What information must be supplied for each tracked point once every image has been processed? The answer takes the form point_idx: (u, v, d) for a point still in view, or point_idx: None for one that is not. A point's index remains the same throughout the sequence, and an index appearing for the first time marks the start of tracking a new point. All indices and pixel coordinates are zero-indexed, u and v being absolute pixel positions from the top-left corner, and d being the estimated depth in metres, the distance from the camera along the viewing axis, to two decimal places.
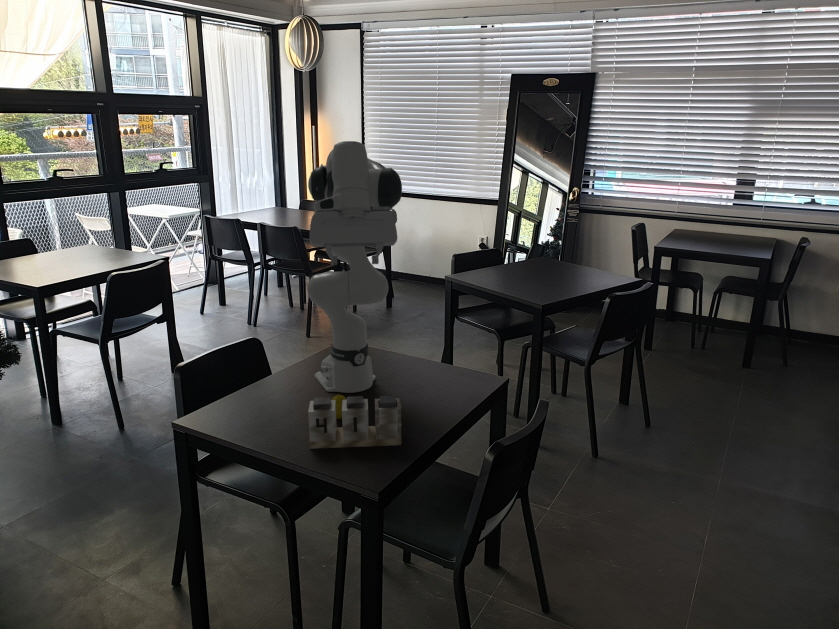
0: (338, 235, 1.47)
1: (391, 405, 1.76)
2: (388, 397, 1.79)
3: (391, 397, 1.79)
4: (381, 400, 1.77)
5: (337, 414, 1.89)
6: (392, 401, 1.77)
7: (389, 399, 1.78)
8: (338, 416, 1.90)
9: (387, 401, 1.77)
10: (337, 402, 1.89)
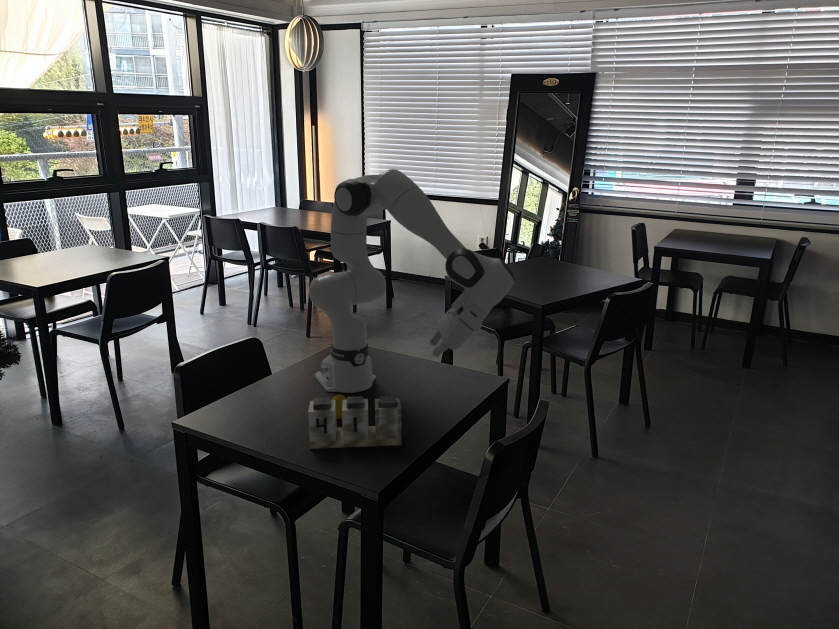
0: None
1: (391, 405, 1.76)
2: (388, 397, 1.79)
3: (391, 397, 1.79)
4: (381, 400, 1.77)
5: (337, 414, 1.89)
6: (392, 401, 1.77)
7: (389, 399, 1.78)
8: (338, 416, 1.90)
9: (387, 401, 1.77)
10: (337, 402, 1.89)
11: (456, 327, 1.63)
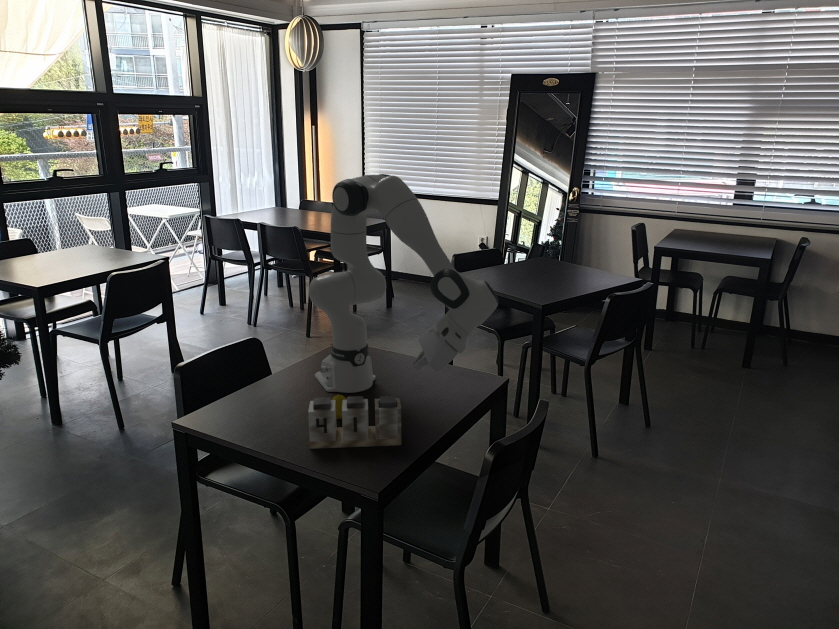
0: None
1: (391, 405, 1.76)
2: (388, 397, 1.79)
3: (391, 397, 1.79)
4: (381, 400, 1.77)
5: (337, 414, 1.89)
6: (392, 401, 1.77)
7: (389, 399, 1.78)
8: (338, 416, 1.90)
9: (387, 401, 1.77)
10: (337, 402, 1.89)
11: (441, 349, 1.66)
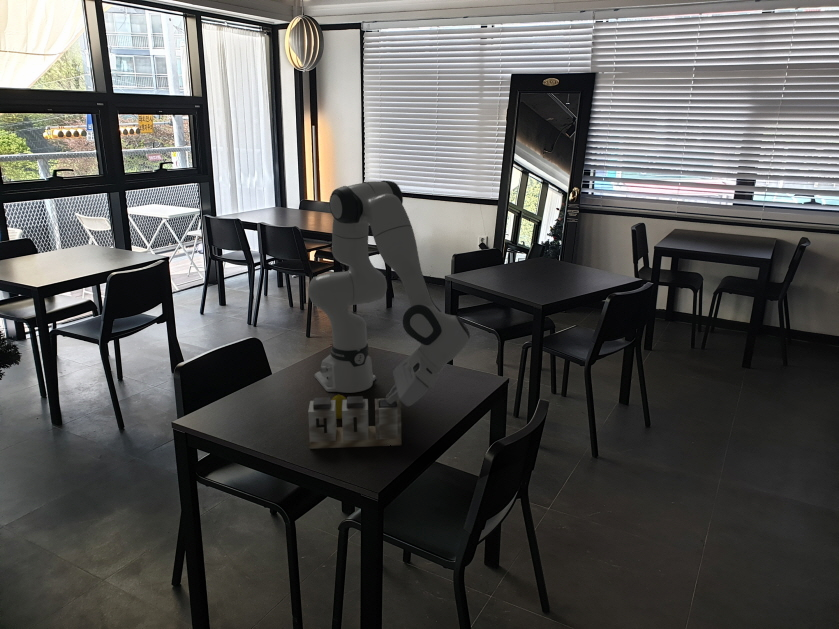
0: None
1: None
2: None
3: None
4: (381, 403, 1.78)
5: (337, 414, 1.89)
6: (392, 404, 1.77)
7: None
8: (338, 416, 1.90)
9: (387, 404, 1.77)
10: (337, 402, 1.89)
11: (412, 384, 1.67)
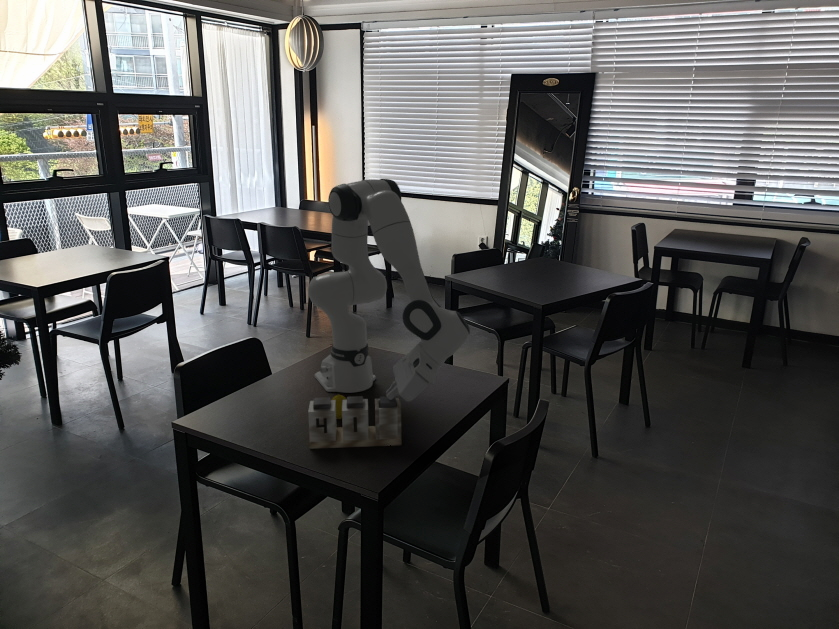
0: None
1: (391, 405, 1.76)
2: None
3: None
4: (381, 400, 1.77)
5: (337, 414, 1.89)
6: (392, 401, 1.77)
7: None
8: (338, 416, 1.90)
9: (387, 401, 1.77)
10: (337, 402, 1.89)
11: (412, 380, 1.67)
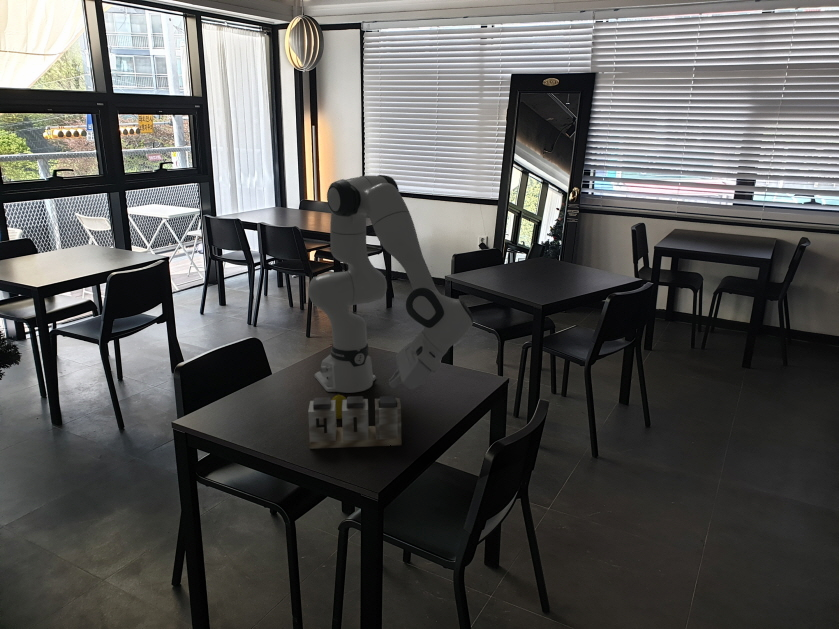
0: None
1: (391, 405, 1.76)
2: (388, 398, 1.79)
3: (391, 397, 1.79)
4: (381, 400, 1.77)
5: (337, 414, 1.89)
6: (392, 401, 1.77)
7: (389, 399, 1.78)
8: (338, 416, 1.90)
9: (387, 401, 1.77)
10: (337, 402, 1.89)
11: (415, 368, 1.66)
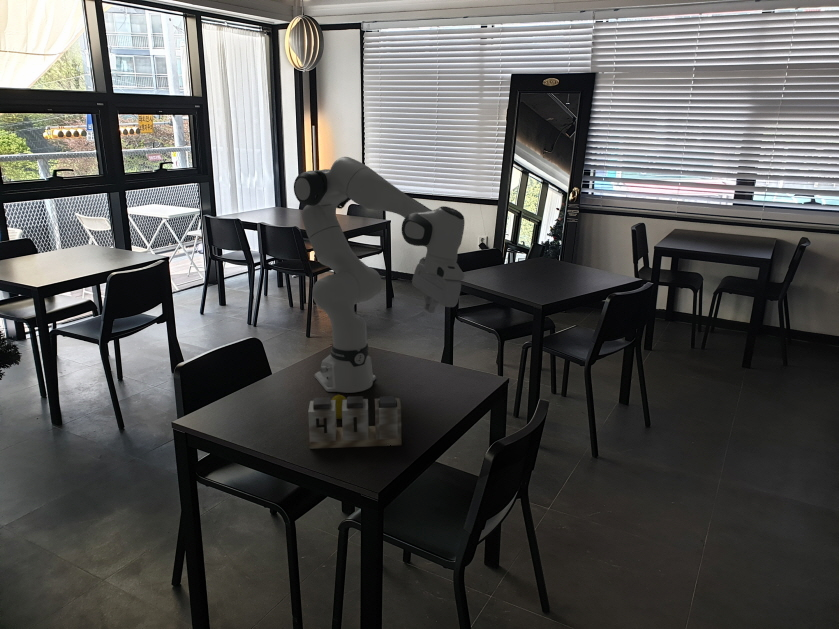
0: None
1: (391, 405, 1.76)
2: (388, 398, 1.79)
3: (391, 397, 1.79)
4: (381, 400, 1.77)
5: (337, 414, 1.89)
6: (392, 401, 1.77)
7: (389, 399, 1.78)
8: (338, 416, 1.90)
9: (387, 401, 1.77)
10: (337, 402, 1.89)
11: (448, 288, 1.75)
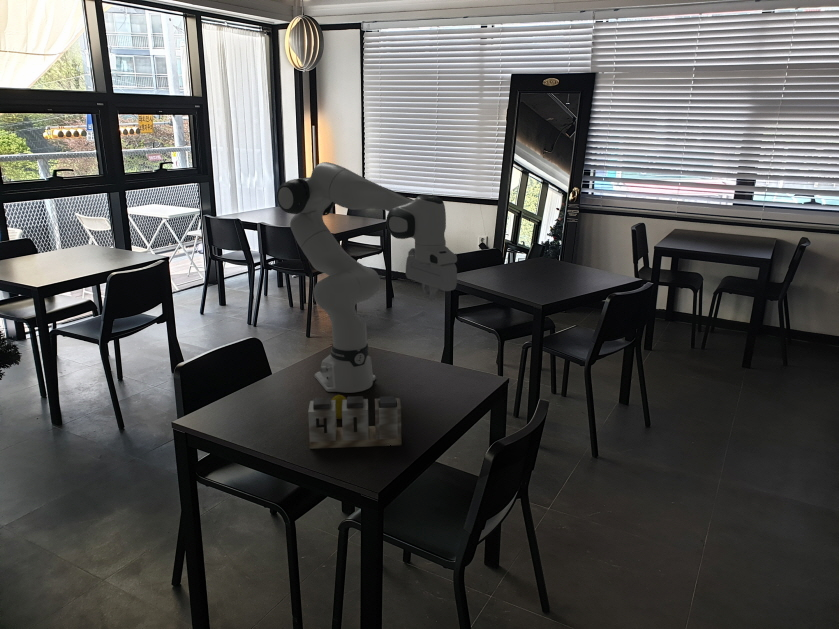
0: None
1: (391, 405, 1.76)
2: (388, 398, 1.79)
3: (391, 397, 1.79)
4: (381, 400, 1.77)
5: (337, 414, 1.89)
6: (392, 401, 1.77)
7: (389, 399, 1.78)
8: (338, 416, 1.90)
9: (387, 401, 1.77)
10: (337, 402, 1.89)
11: (445, 273, 1.78)
